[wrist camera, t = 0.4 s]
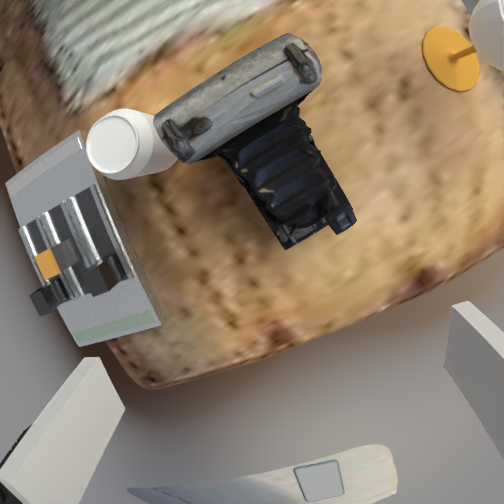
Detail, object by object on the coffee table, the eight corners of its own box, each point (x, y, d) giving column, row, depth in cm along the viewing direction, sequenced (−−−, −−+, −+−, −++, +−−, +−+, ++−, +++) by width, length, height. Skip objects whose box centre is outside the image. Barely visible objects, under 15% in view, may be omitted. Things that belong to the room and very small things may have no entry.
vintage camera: (277, 243, 38) (295, 340, 19) (201, 130, 34) (137, 113, 15) (348, 199, 36) (434, 256, 17) (275, 83, 32) (296, 14, 13)
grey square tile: (337, 460, 48) (345, 494, 52) (337, 456, 49) (344, 491, 52) (292, 469, 49) (306, 502, 53) (292, 465, 50) (306, 499, 54)
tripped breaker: (59, 243, 36) (34, 256, 31) (72, 236, 36) (47, 249, 30) (69, 264, 37) (44, 280, 32) (82, 258, 36) (58, 274, 31)
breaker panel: (14, 181, 36) (-19, 188, 30) (87, 130, 34) (55, 128, 27) (84, 340, 43) (62, 365, 36) (166, 317, 41) (149, 346, 34)
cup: (469, 32, 27) (543, -2, 12) (484, 94, 30) (568, 81, 14) (414, 23, 28) (481, -28, 13) (430, 89, 31) (513, 64, 15)
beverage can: (144, 112, 33) (93, 98, 22) (192, 128, 34) (156, 117, 22) (127, 162, 35) (71, 169, 24) (173, 179, 36) (131, 192, 24)
